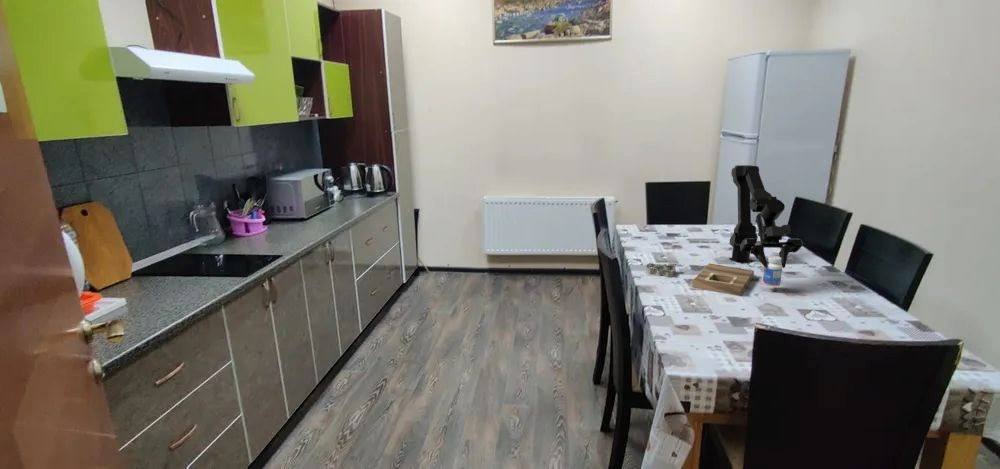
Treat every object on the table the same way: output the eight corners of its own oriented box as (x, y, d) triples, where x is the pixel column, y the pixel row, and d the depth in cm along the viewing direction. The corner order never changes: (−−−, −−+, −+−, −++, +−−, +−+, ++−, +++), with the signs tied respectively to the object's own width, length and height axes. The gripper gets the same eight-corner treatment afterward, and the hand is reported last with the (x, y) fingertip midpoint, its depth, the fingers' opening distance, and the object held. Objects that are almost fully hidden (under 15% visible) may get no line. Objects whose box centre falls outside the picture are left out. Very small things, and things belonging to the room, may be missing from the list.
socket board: (708, 269, 196) (709, 262, 195) (753, 276, 186) (754, 270, 186) (692, 287, 179) (692, 280, 178) (740, 296, 169) (741, 288, 169)
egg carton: (677, 273, 193) (678, 263, 192) (670, 279, 188) (671, 269, 187) (650, 268, 200) (651, 258, 199) (643, 273, 194) (644, 263, 193)
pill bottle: (759, 281, 175) (762, 255, 173) (773, 280, 176) (777, 254, 173) (768, 287, 170) (771, 260, 168) (783, 286, 171) (787, 259, 168)
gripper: (746, 215, 172) (753, 256, 164) (804, 216, 169) (814, 257, 162) (736, 231, 181) (743, 270, 174) (791, 231, 179) (800, 271, 171)
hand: (775, 267), depth 170 cm, fingers closed on pill bottle, 5 cm apart
